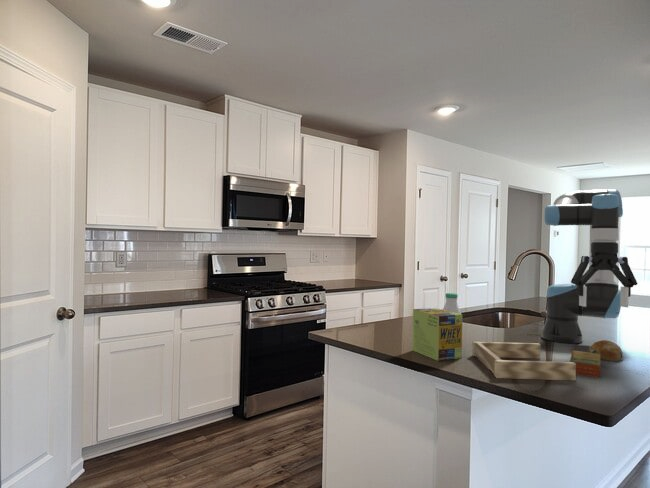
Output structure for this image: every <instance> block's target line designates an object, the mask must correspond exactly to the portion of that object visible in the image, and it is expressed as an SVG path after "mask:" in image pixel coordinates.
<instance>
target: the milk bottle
mask: <svg viewBox="0 0 650 488" xmlns="http://www.w3.org/2000/svg"><path fill="white" fill-rule="evenodd" d="M458 298H459V297H458V293H455V292H446V293H445V304H444V306H443V308H442V310H446V311H450V312H454V313H459V314H462V313H461V309H460V307H459V305H458Z"/></svg>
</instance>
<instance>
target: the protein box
mask: <svg viewBox="0 0 650 488" xmlns="http://www.w3.org/2000/svg"><path fill="white" fill-rule="evenodd" d="M412 310H413V311H412V343H411V344H412V346H411V347H412V349H411V350H412V351H414V352H415V353H418V354H421V355H422V356H425V357H428V358H430V359H433V360H434V361H437V362H440V361H442V360H443V361H449V360H459V359H462V358H463V314H462V313H461V314H459V313H454V312H450V311H446V310H443V308H442V309H440V308H438V307H437V308H436V307H434V308H414V309H412ZM458 358H459V359H458Z"/></svg>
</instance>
